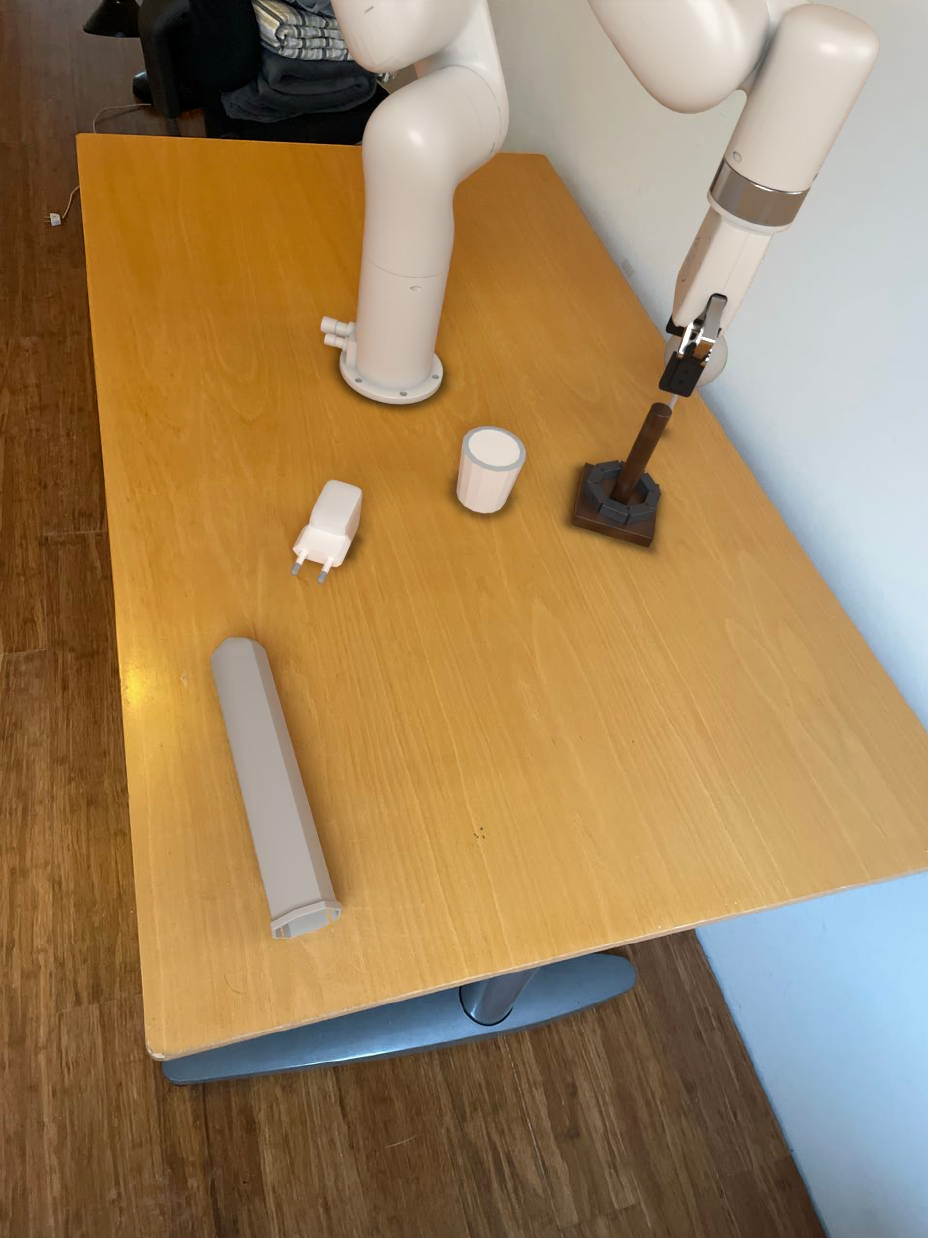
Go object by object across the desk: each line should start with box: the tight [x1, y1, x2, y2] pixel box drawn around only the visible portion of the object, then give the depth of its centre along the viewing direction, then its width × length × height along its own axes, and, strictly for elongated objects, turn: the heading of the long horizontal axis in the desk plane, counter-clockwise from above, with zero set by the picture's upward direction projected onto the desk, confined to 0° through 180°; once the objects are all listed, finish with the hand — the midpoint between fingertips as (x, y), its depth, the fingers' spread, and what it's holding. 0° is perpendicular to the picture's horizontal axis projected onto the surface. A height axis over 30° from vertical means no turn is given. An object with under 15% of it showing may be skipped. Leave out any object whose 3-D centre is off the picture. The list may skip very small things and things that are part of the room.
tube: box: [209, 637, 343, 940], centre depth 65 cm, size 5×5×25 cm
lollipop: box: [663, 334, 729, 411], centre depth 97 cm, size 7×7×15 cm
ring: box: [584, 459, 662, 524], centre depth 92 cm, size 8×8×1 cm
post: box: [571, 401, 673, 549], centre depth 87 cm, size 9×9×14 cm
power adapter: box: [289, 479, 363, 585], centre depth 79 cm, size 11×5×6 cm, turn 166°
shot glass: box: [455, 425, 527, 514], centre depth 88 cm, size 7×7×7 cm
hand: (676, 362), depth 81 cm, fingers open, 9 cm apart
